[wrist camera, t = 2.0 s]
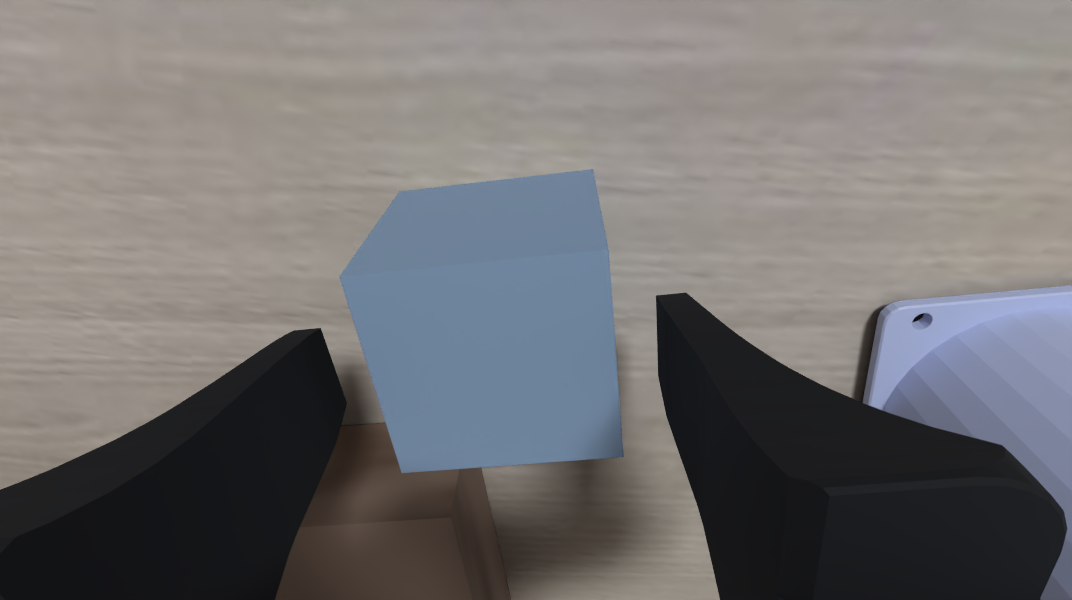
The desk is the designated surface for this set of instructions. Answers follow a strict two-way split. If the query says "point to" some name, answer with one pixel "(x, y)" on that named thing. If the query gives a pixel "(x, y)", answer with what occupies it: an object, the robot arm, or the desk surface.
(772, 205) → the desk surface
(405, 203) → the blue cube
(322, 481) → the walnut block
